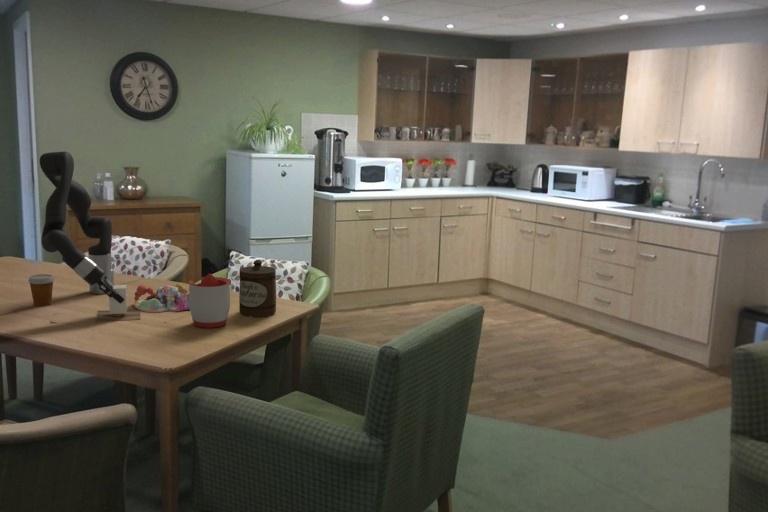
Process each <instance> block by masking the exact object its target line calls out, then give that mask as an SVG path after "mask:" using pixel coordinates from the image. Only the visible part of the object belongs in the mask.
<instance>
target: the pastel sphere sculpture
mask: <svg viewBox="0 0 768 512" xmlns="http://www.w3.org/2000/svg"><path fill="white" fill-rule="evenodd" d="M146 294H147V295H148V296H146V298H144V299H141V300H139V299H140V298H141V297H142V296H144V295H146ZM133 300H134V301H135V302H134V303H133V307H134V308H135V309H139V310H140V312H141V311H143V312H146V313H156V314H157V313H164V312H168V311H169V312H182V311H187V310H189V311H190V304H189V288H186V286H185V285H183V284H181V283H177V284H176V285H175V286H172V285H170V284H167V285H166V284H165V285H164V286H163V287H161V286H160V287H158V288H157V289H156V292H155V291H154V288H152V287H148V288H147V286H146V285H143V284H140V285H138V286H137V288H136V291H135V292H134V299H133Z"/></svg>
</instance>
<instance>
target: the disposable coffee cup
mask: <svg viewBox="0 0 768 512" xmlns="http://www.w3.org/2000/svg"><path fill="white" fill-rule="evenodd" d="M27 281H28V283H29V286H30V292H31V297H32V302H33V306H34V307H47V306H52V299H53V287H54V281H55V278H54V275H52V274H45V273H44V274H43V273H41V274H33V275H30V276H29V279H28V280H27Z"/></svg>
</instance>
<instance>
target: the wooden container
mask: <svg viewBox="0 0 768 512" xmlns="http://www.w3.org/2000/svg"><path fill="white" fill-rule="evenodd" d="M262 264H263V261H262V260H260V259H255V260H254V261H253V265H251V266H245V267H241V268H239V296H238V297H239V298H238V299H239V300H238V302H239V307H238V309H239V313H240V315H242V316H244V315H246V316H245V317H249V316H252V317H251V318H261V316H265V317H270V316H273V315H275V314H276V313H275V312H277V284H276V283H277V279H276V278H277V276H276V275H277V273H276V272H277V269H275V268H274V267H272V266H265V265H262ZM274 313H275V314H274ZM272 314H273V315H272ZM269 315H270V316H269Z"/></svg>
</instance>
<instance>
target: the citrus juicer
mask: <svg viewBox="0 0 768 512" xmlns="http://www.w3.org/2000/svg"><path fill="white" fill-rule="evenodd" d="M231 282H232V281H231V280H230V279H229V278H225V277H219V276H214V275H213V274H212V273H207V275H205V277H204V276H202V277H201V278H200V283H197V284H196V283H195V281H194V280H192V279H190V280H189V281H188V287H189V288H188V290H189V304H190V310H189V311H190V315H191V320H192V322H193V324H194V325H195V326H196V327H198V328H199V327H200V328H207V329H213V328H217V327H222V326H224V325H226V322H227V320H228V316H229V312H230V310H231V309H230V307H231Z"/></svg>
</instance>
